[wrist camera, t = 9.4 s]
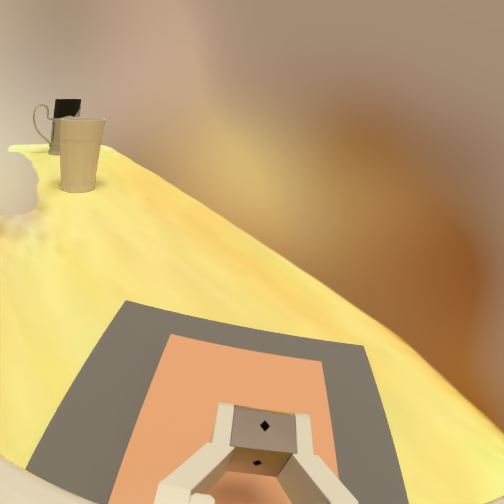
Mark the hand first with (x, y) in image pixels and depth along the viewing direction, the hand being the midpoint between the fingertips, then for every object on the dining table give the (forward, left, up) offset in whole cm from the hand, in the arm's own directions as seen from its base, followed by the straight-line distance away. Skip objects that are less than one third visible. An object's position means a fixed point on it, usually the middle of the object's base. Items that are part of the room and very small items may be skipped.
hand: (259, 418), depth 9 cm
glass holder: (+25, +85, -7) cm, 88 cm away
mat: (+4, +3, -7) cm, 8 cm away
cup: (+17, +49, -7) cm, 52 cm away
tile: (-4, -3, -6) cm, 8 cm away
